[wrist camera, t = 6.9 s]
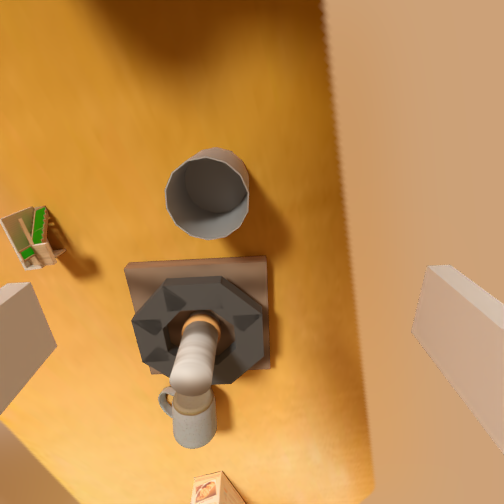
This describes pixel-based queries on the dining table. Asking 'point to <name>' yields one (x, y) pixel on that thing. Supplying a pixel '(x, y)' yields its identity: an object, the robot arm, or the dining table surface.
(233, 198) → the cup
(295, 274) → the dining table surface
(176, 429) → the ceramic mug
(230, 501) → the coffeecake box
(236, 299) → the ring
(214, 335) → the pipe stand
